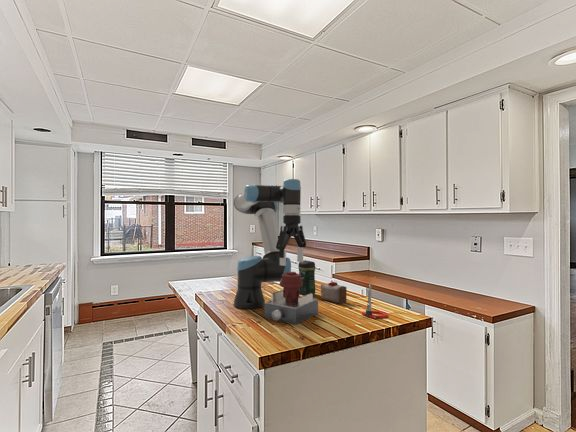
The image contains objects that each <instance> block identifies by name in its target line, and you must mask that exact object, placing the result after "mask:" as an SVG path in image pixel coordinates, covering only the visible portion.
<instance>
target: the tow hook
mask: <svg viewBox="0 0 576 432" xmlns="http://www.w3.org/2000/svg"><path fill="white" fill-rule="evenodd" d="M367 294H368V295H367V304H366V305H367V306H366V310H365V311H362V312H361V315H362V316H365V317H367V318H369V319H373V320H376V319H386V318H387V317H388V314H387V313H386V312H384V311H382V310H381V311H380V310H372V284H368V292H367Z"/></svg>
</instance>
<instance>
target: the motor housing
mask: <svg viewBox="0 0 576 432" xmlns="http://www.w3.org/2000/svg"><path fill="white" fill-rule="evenodd" d="M270 295H271V297H270V299H271V300H268V301H265V305H264V318H265V319H268V320H272V321H273V320H274V321H275V322H278V321H279V322H283V323H286V324H290V325H291V324H292V325H294V326H295V325H296V326H297V325H298V324H301V323H303V322H305V321H307V320H308V319H312V318H313V317H314V316H317V315H319V299H317V298H314V294H308V295H303V296H300V295H299V298H298V301H293V302H291V303H289V302H288V301H287V300H285V298H284V297H283V289H281V290H278V291H275V292H272V293H270Z"/></svg>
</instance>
